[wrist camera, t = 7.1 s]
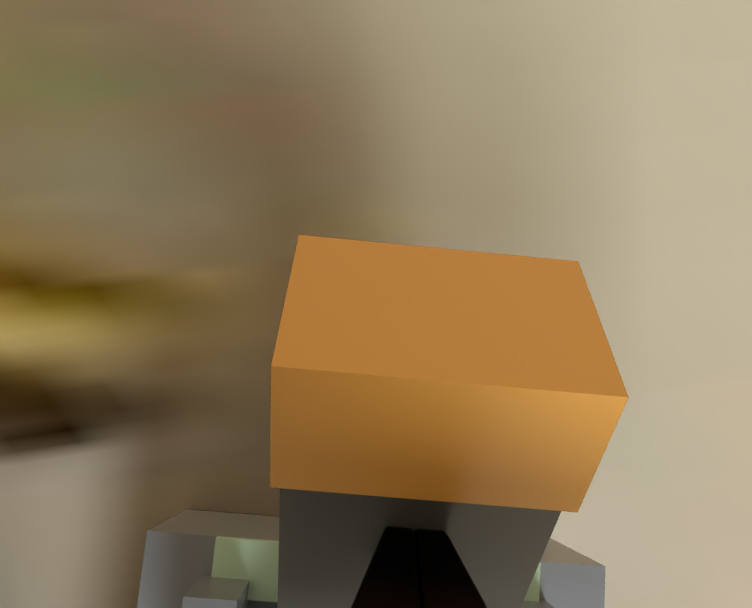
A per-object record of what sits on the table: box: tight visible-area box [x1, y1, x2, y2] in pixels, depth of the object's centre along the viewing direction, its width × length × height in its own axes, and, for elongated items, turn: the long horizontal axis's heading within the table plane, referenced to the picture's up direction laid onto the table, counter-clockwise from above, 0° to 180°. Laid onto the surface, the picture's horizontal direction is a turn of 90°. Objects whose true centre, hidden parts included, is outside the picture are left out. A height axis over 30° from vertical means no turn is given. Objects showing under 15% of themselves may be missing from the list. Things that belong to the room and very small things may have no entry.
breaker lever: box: [270, 235, 629, 608], centre depth 11 cm, size 3×5×10 cm
